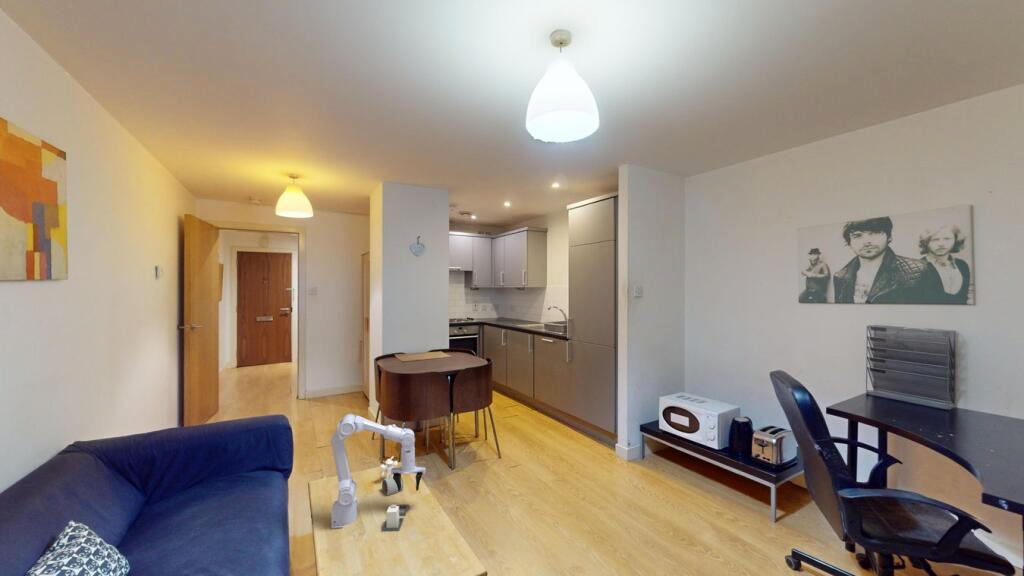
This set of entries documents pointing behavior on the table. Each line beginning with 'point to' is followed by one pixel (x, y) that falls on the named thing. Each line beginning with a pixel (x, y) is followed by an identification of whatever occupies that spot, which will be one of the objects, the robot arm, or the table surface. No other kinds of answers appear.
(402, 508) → the panel
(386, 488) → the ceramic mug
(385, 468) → the blocky character figurine
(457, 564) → the table surface
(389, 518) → the plug
